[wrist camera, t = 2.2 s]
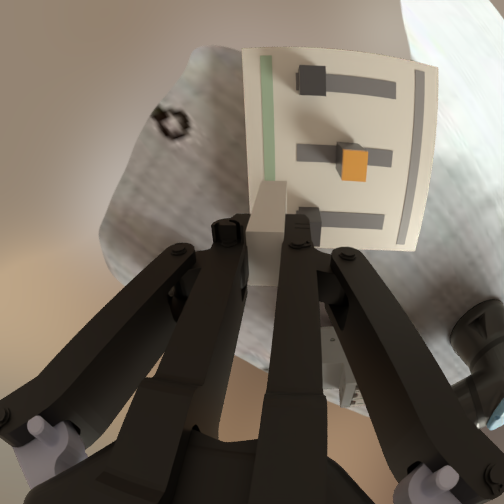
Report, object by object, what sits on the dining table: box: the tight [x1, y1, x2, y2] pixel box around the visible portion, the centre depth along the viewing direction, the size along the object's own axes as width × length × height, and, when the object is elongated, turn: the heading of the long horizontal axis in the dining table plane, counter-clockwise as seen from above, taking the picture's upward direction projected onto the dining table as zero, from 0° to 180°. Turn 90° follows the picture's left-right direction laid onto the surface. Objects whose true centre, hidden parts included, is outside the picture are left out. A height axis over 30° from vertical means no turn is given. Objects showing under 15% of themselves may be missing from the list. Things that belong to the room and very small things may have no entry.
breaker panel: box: [242, 47, 438, 251], centre depth 30 cm, size 22×24×9 cm
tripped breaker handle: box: [335, 142, 368, 182], centre depth 27 cm, size 2×3×5 cm
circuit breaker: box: [321, 326, 366, 407], centre depth 43 cm, size 8×14×15 cm, turn 97°
